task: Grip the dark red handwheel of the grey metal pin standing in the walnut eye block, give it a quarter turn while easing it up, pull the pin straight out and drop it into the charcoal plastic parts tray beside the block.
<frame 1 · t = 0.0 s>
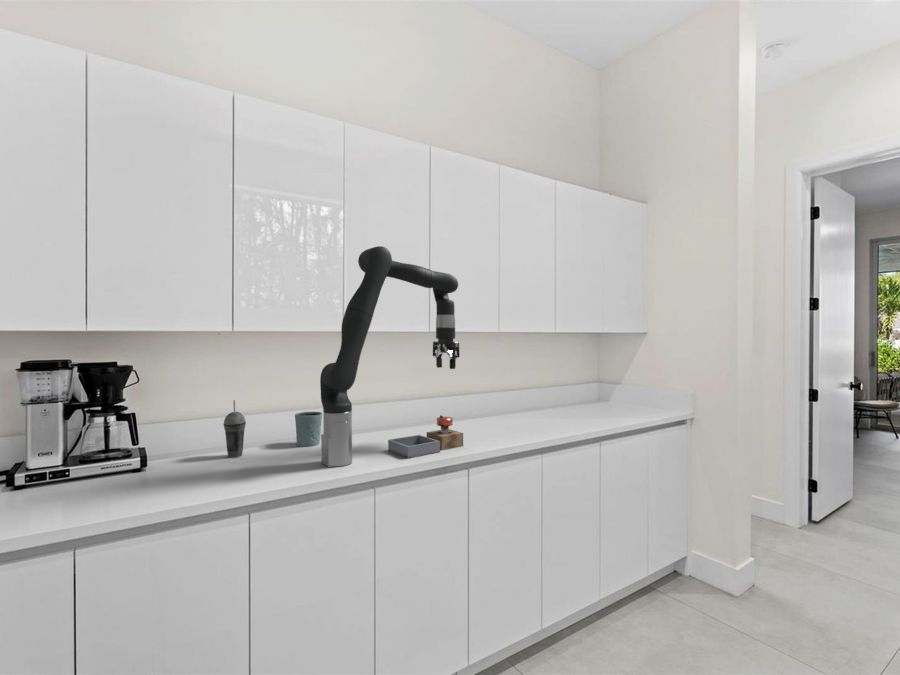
hand: (445, 368, 182), 29 cm above the worktop, fingers open, 8 cm apart
beverage cup: (235, 456, 165), on the worktop
pin: (444, 430, 178), in the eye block
parts tray: (413, 451, 170), on the worktop
teal tapered cylinder: (308, 444, 182), on the worktop
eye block: (444, 445, 178), on the worktop
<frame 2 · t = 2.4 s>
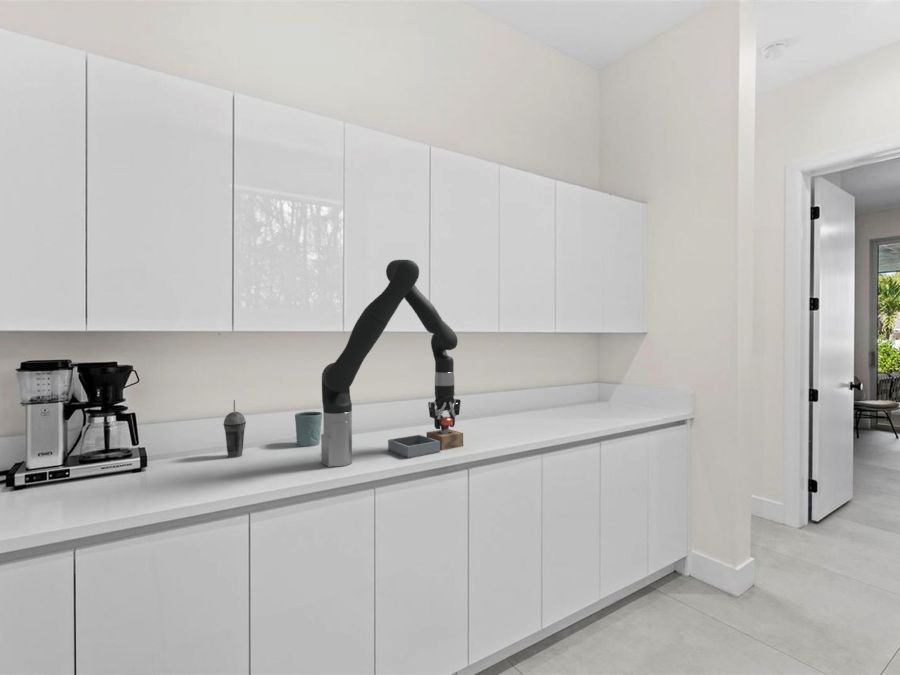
hand: (444, 427, 178), 7 cm above the worktop, fingers closed on pin, 6 cm apart
pin: (444, 430, 178), in the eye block, touching gripper
everything else where it was.
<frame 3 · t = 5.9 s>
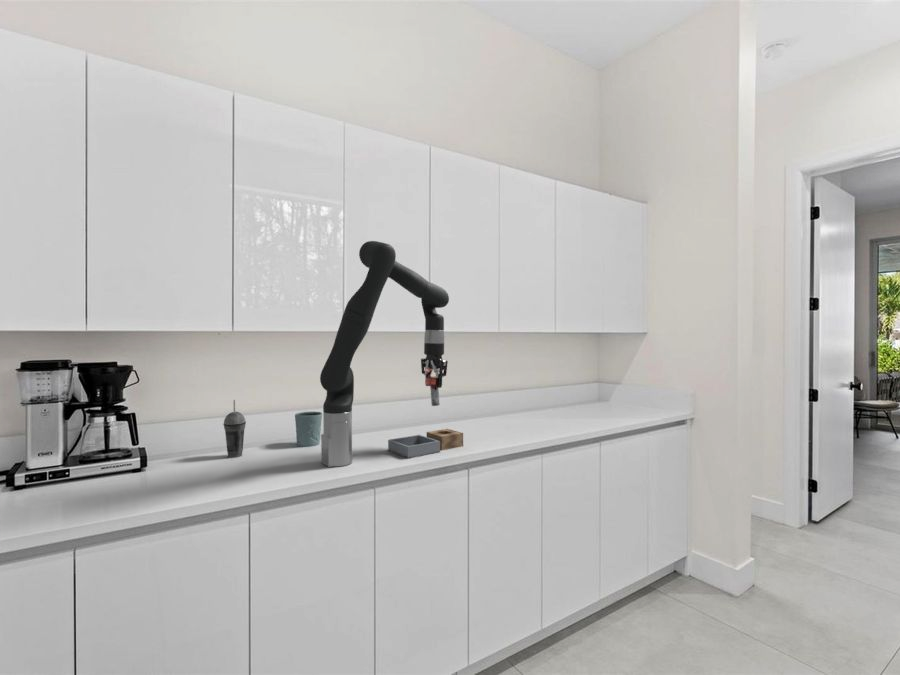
hand: (433, 386, 176), 23 cm above the worktop, fingers closed on pin, 6 cm apart
pin: (434, 390, 176), point 22 cm above the worktop, touching gripper
everything else where it was.
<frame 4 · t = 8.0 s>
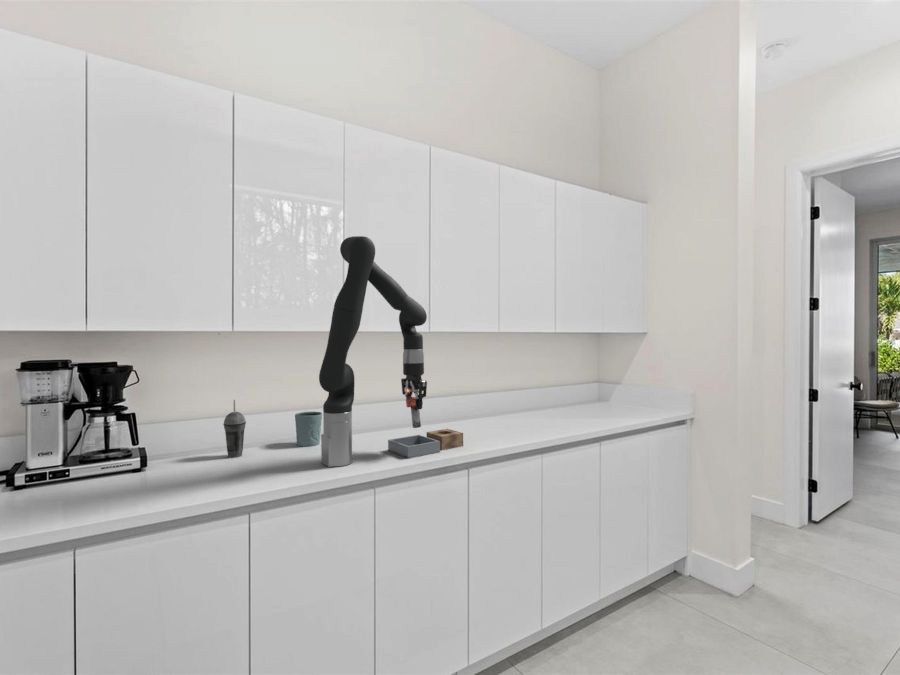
hand: (414, 407, 169), 16 cm above the worktop, fingers closed on pin, 6 cm apart
pin: (415, 411, 170), point 15 cm above the worktop, tilted 5°, touching gripper
everything else where it was.
when the fingers open (10 cm above the worktop, at t = 9.7 s): pin drops 2 cm, resting on parts tray.
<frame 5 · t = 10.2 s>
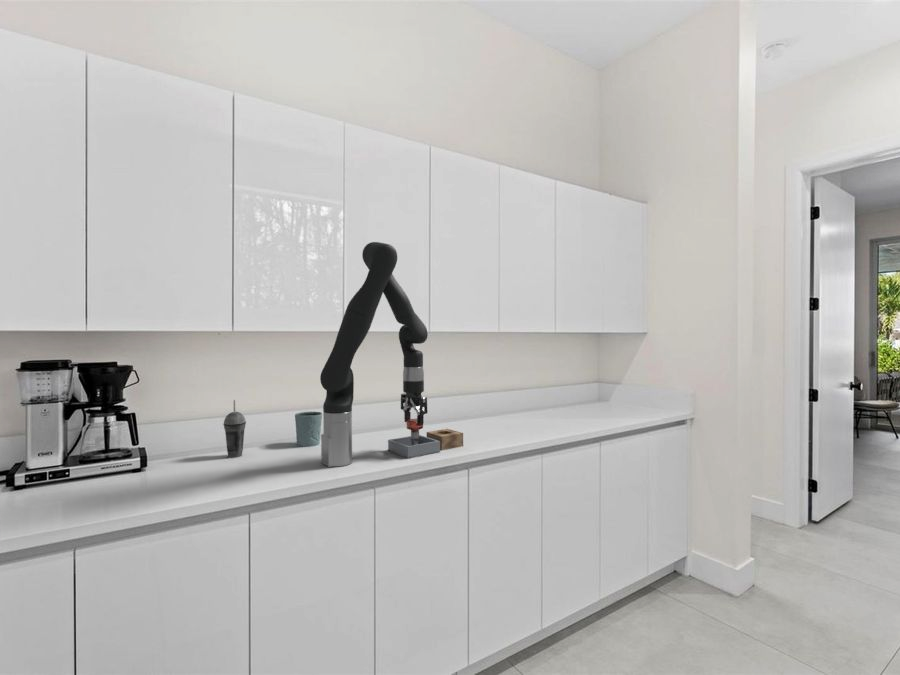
hand: (413, 423, 170), 10 cm above the worktop, fingers open, 8 cm apart
pin: (415, 433, 170), in the parts tray
everything else where it was.
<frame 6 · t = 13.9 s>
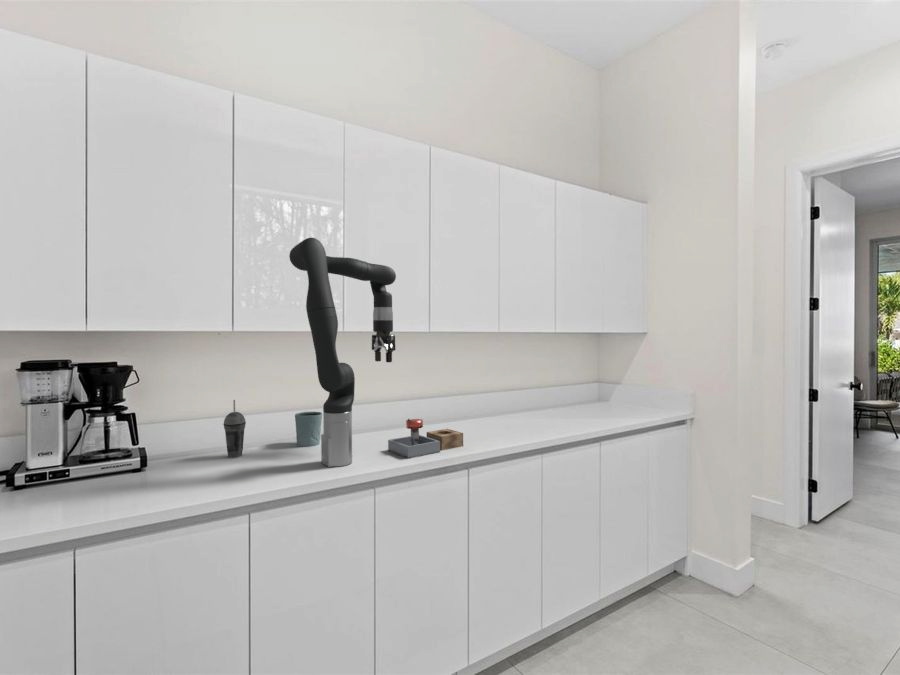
hand: (383, 361, 179), 32 cm above the worktop, fingers open, 8 cm apart
at the end: pin inside the target area on the parts tray (0.9 cm from its centre), point 6.3 cm above the parts tray's base; the gripper is holding nothing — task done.
